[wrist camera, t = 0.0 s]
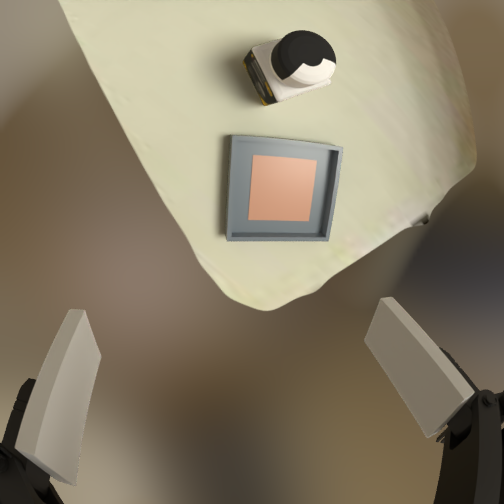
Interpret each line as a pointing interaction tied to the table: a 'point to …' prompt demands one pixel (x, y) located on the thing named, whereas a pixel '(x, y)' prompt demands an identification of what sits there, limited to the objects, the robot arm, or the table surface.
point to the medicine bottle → (290, 66)
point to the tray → (281, 189)
